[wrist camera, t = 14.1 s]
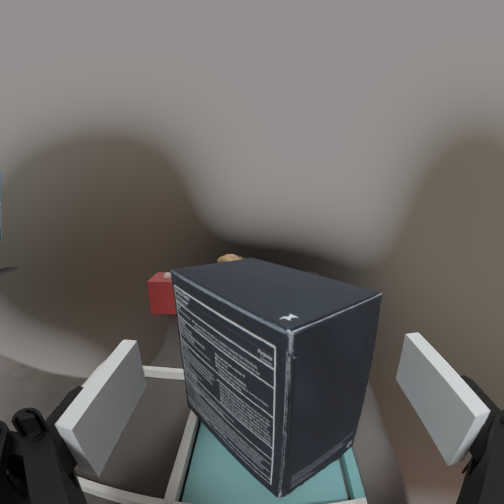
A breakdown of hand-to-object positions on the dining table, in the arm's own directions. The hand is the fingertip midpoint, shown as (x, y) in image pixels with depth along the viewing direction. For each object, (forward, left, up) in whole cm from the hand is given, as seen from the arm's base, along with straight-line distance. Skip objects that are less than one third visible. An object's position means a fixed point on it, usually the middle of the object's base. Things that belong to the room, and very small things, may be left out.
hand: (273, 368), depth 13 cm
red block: (-13, +26, -8) cm, 30 cm away
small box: (0, +3, -7) cm, 8 cm away
